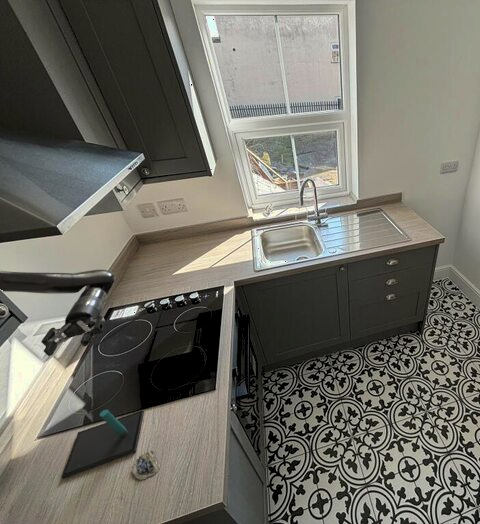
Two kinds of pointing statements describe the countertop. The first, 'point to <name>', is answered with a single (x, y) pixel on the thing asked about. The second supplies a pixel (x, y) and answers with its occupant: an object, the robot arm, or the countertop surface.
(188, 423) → the countertop surface
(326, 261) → the countertop surface
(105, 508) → the countertop surface
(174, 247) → the countertop surface
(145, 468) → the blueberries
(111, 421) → the teal bar
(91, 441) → the tablet
